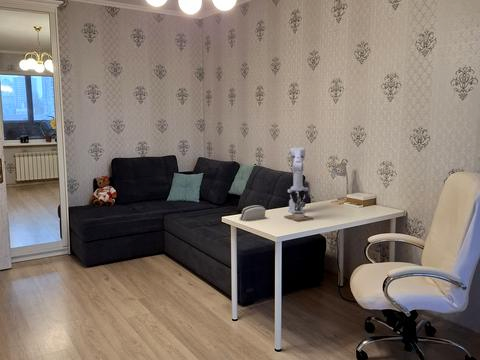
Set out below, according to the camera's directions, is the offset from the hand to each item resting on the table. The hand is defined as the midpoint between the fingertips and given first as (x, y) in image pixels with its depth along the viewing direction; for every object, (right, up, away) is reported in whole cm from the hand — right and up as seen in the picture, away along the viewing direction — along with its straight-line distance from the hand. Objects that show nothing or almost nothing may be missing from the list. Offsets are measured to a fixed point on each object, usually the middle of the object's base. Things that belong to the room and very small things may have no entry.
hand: (297, 202), depth 269 cm
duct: (+1, -10, +1) cm, 10 cm away
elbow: (+1, -5, -1) cm, 5 cm away
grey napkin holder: (-28, -11, +2) cm, 30 cm away
